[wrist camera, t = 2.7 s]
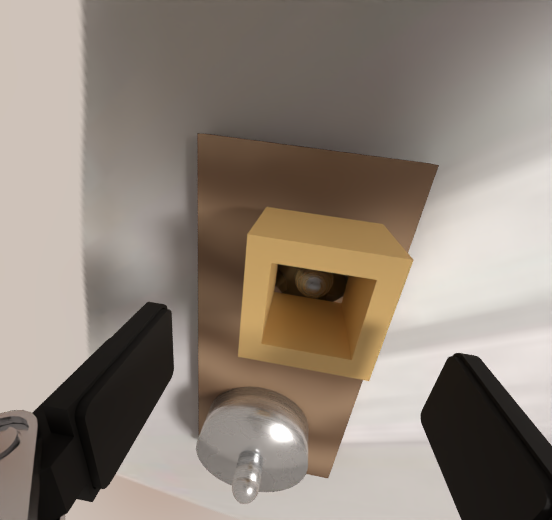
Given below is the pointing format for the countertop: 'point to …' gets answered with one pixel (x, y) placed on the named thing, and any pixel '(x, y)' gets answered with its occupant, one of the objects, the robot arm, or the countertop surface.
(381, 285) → the hollow square block
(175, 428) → the countertop surface
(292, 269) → the round drawer knob
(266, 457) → the hub
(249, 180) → the board
